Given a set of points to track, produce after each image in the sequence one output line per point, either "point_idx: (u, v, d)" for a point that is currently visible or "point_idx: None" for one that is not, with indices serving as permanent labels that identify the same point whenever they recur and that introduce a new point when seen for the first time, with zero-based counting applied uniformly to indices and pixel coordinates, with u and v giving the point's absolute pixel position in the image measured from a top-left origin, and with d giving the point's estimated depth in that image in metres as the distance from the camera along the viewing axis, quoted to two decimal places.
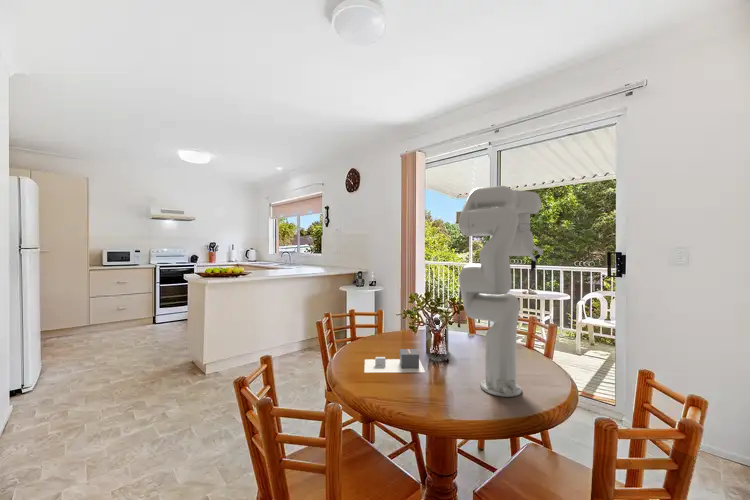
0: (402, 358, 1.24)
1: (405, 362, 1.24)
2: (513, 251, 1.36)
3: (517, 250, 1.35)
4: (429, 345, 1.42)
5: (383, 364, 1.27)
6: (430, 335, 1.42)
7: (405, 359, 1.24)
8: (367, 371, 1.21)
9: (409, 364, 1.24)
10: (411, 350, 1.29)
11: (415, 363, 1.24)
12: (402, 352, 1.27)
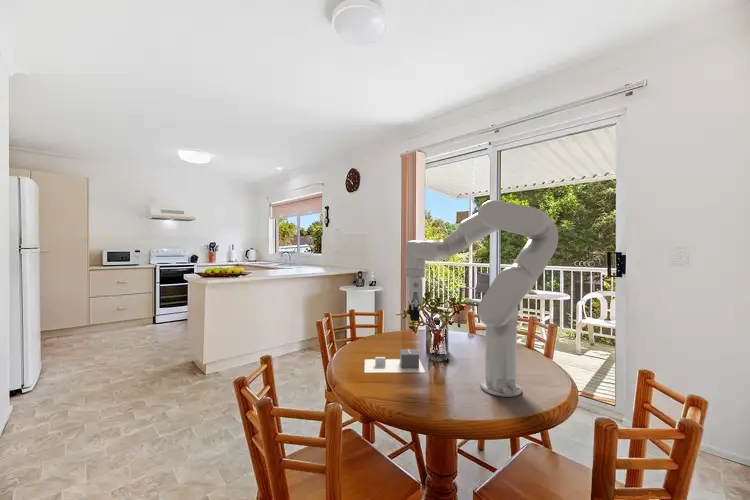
0: (402, 358, 1.24)
1: (405, 362, 1.24)
2: None
3: None
4: (429, 345, 1.42)
5: (383, 364, 1.27)
6: (430, 335, 1.42)
7: (405, 359, 1.24)
8: (367, 371, 1.21)
9: (409, 364, 1.24)
10: (411, 350, 1.29)
11: (415, 363, 1.24)
12: (402, 352, 1.27)
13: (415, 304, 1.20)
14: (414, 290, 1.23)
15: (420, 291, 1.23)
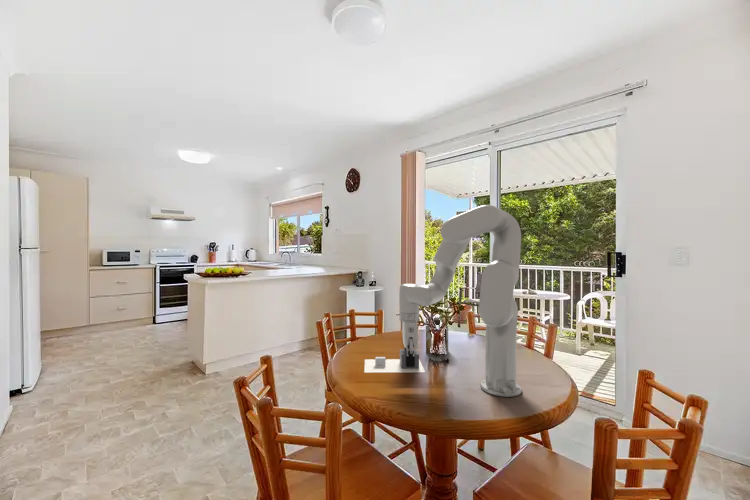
0: (402, 358, 1.24)
1: (405, 362, 1.24)
2: None
3: None
4: (429, 345, 1.42)
5: (383, 364, 1.27)
6: (430, 335, 1.42)
7: (405, 359, 1.24)
8: (367, 371, 1.21)
9: None
10: None
11: (415, 363, 1.24)
12: (402, 352, 1.27)
13: (410, 352, 1.21)
14: (409, 336, 1.22)
15: (415, 336, 1.23)
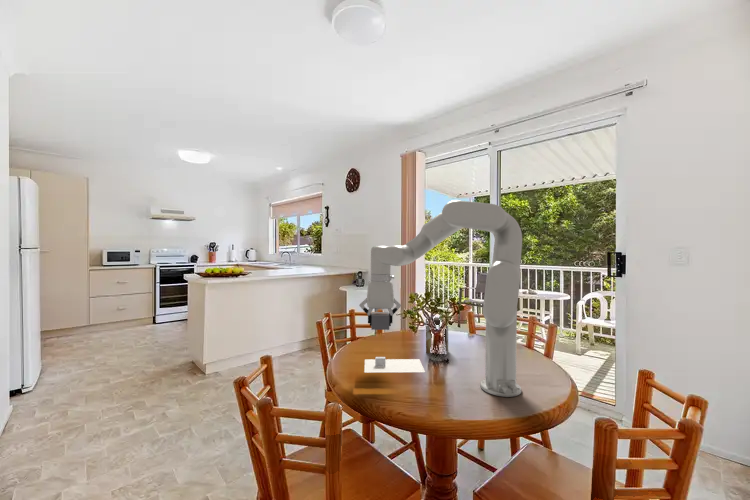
0: None
1: None
2: None
3: None
4: (429, 345, 1.42)
5: (383, 364, 1.27)
6: (430, 335, 1.42)
7: None
8: (367, 371, 1.21)
9: None
10: (375, 313, 1.28)
11: None
12: (382, 315, 1.25)
13: None
14: (393, 295, 1.27)
15: None
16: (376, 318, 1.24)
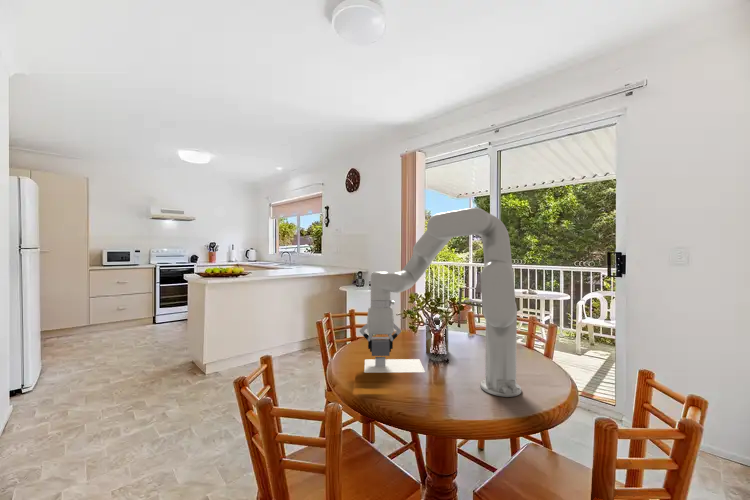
0: None
1: None
2: None
3: None
4: (429, 345, 1.42)
5: (383, 364, 1.27)
6: (430, 335, 1.42)
7: None
8: (367, 371, 1.21)
9: None
10: (376, 338, 1.28)
11: None
12: (382, 341, 1.25)
13: (398, 334, 1.27)
14: None
15: None
16: (376, 344, 1.24)
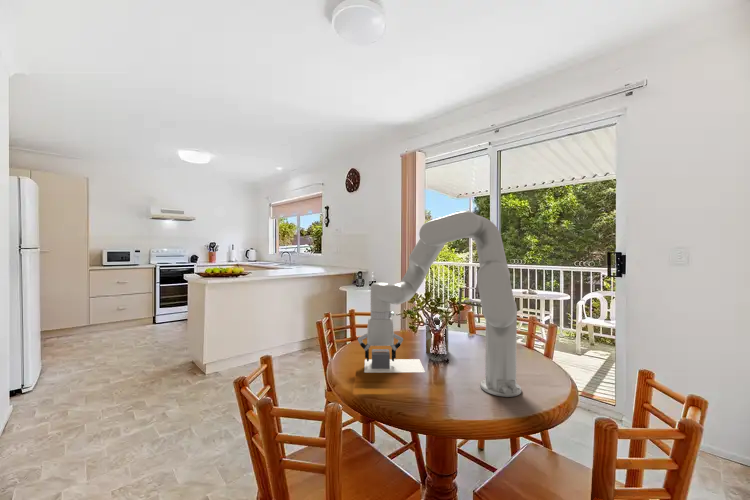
0: (389, 358, 1.25)
1: None
2: None
3: None
4: (429, 345, 1.42)
5: None
6: (430, 335, 1.42)
7: None
8: (367, 371, 1.21)
9: None
10: (376, 351, 1.28)
11: None
12: (382, 354, 1.25)
13: None
14: (393, 331, 1.27)
15: None
16: (376, 357, 1.24)
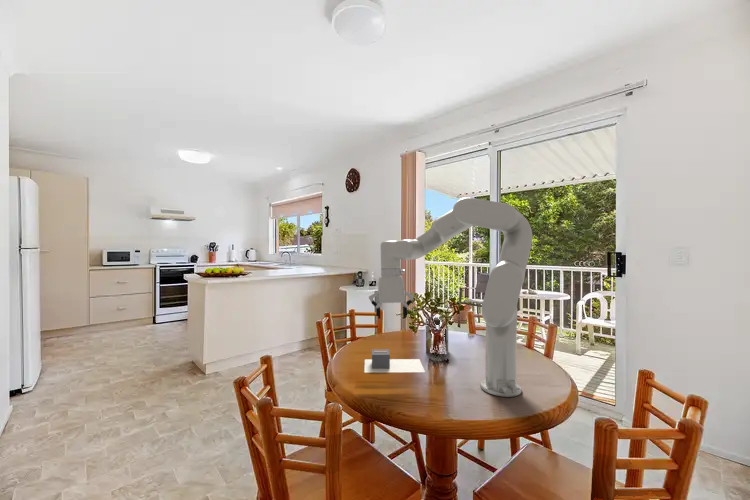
0: (389, 358, 1.25)
1: None
2: None
3: None
4: (429, 345, 1.42)
5: None
6: (430, 335, 1.42)
7: None
8: (367, 371, 1.21)
9: None
10: (376, 351, 1.28)
11: None
12: (382, 354, 1.25)
13: None
14: None
15: None
16: (376, 357, 1.24)
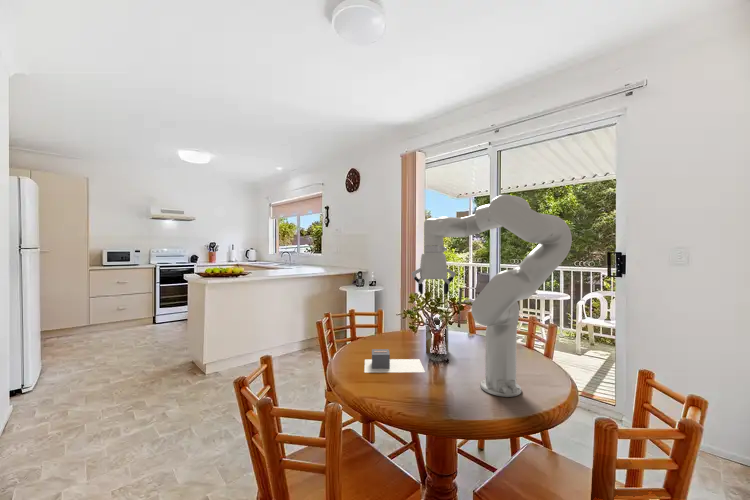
0: (389, 358, 1.25)
1: None
2: None
3: None
4: (429, 345, 1.42)
5: None
6: (430, 335, 1.42)
7: None
8: (367, 371, 1.21)
9: None
10: (376, 351, 1.28)
11: None
12: (382, 354, 1.25)
13: None
14: None
15: None
16: (376, 357, 1.24)
